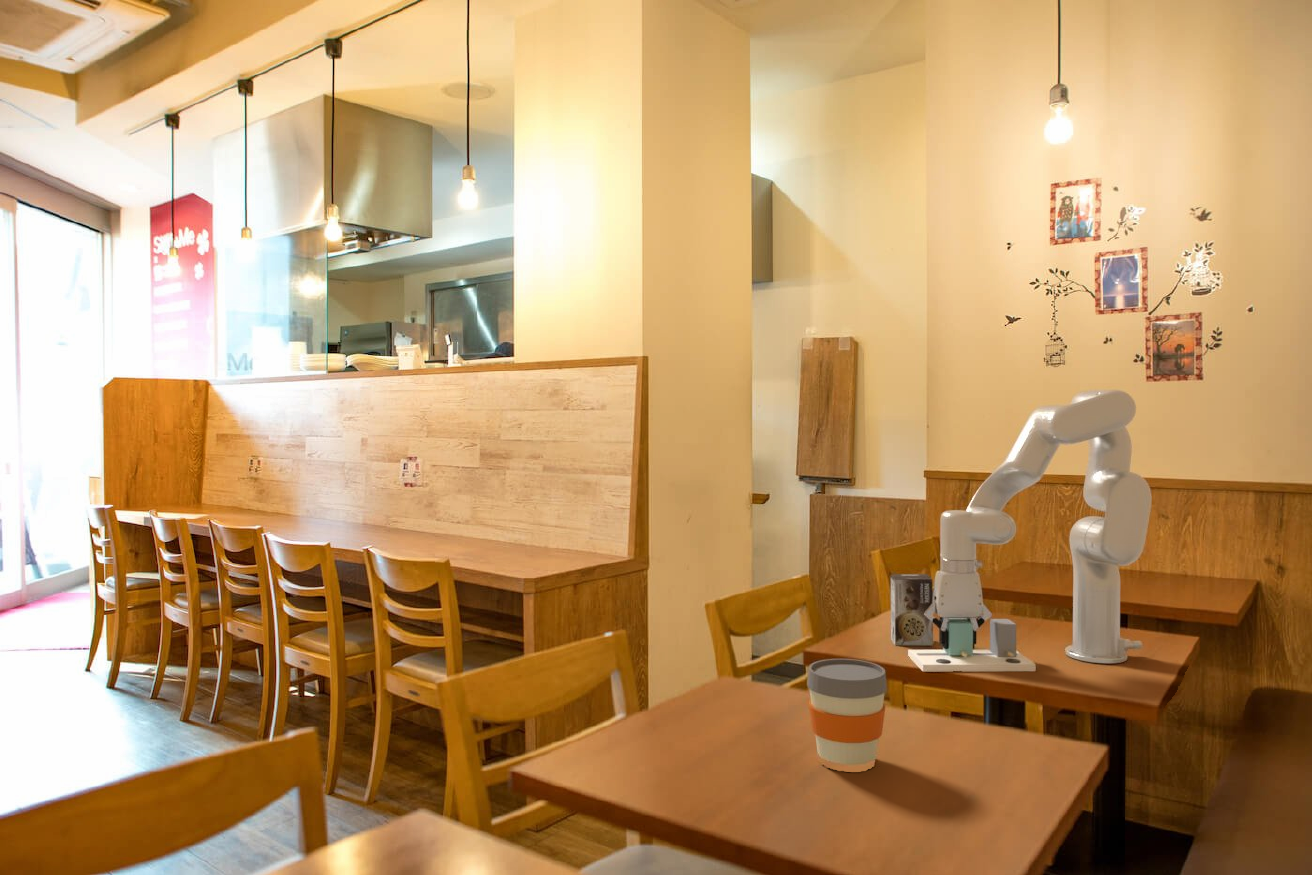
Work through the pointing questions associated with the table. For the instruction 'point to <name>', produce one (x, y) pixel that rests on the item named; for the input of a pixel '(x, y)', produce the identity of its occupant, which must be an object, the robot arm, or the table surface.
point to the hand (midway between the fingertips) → (957, 646)
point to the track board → (979, 654)
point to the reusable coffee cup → (847, 709)
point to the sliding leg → (960, 637)
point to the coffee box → (911, 609)
